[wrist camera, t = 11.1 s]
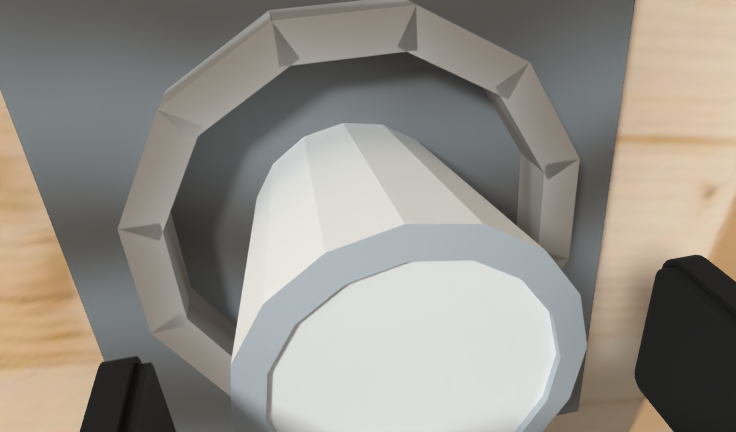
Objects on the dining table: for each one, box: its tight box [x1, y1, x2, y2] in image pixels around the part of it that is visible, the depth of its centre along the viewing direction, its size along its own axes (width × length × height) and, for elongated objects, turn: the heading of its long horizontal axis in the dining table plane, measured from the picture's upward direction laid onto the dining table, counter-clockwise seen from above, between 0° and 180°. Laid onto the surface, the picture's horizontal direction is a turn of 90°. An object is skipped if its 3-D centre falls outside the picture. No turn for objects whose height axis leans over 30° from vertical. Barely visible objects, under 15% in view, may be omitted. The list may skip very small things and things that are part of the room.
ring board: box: [0, 0, 635, 432], centre depth 17 cm, size 20×16×3 cm
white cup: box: [231, 123, 587, 432], centre depth 14 cm, size 7×7×7 cm
